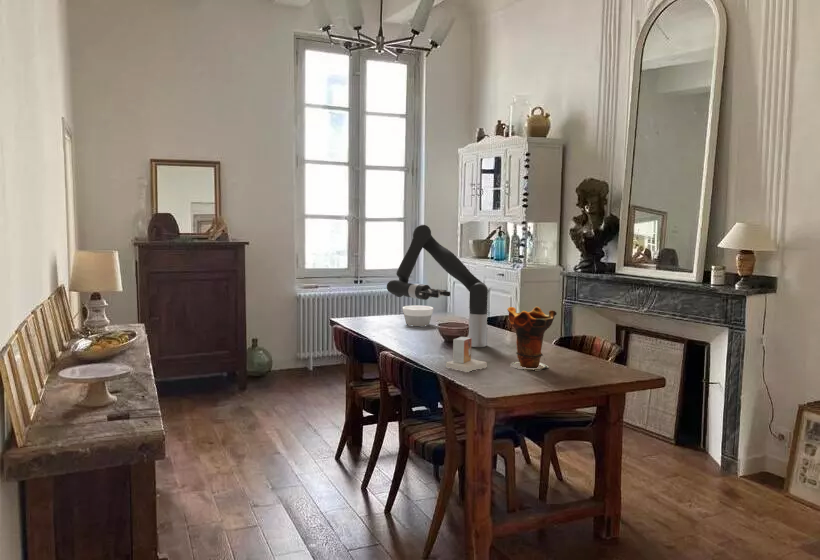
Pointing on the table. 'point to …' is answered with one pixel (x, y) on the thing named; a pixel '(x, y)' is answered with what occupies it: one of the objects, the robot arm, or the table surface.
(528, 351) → the decorative vase
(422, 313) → the bowl
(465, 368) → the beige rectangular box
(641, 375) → the table surface
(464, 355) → the small box
